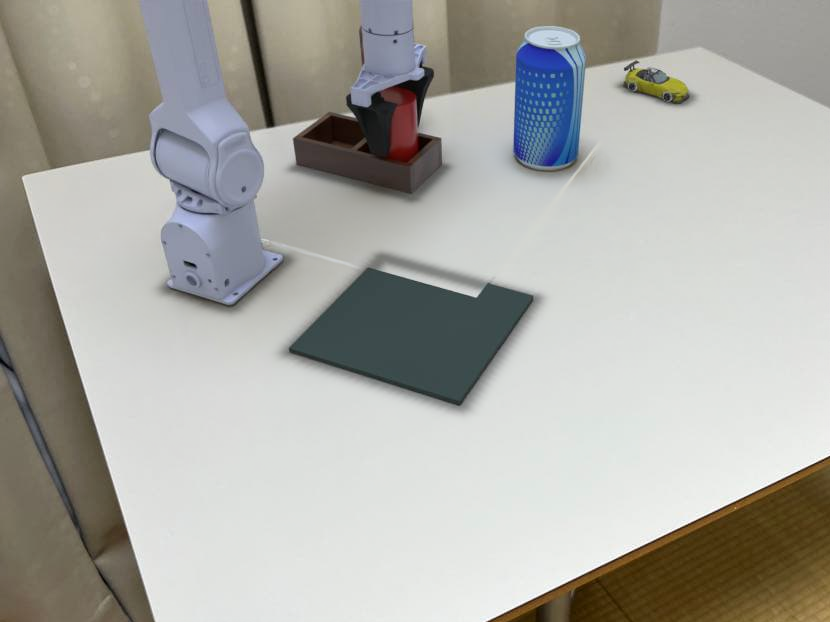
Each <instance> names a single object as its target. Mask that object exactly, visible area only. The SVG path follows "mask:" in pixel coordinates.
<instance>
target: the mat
mask: <svg viewBox="0 0 830 622" xmlns="http://www.w3.org/2000/svg"><path fill="white" fill-rule="evenodd" d="M533 301H534V295H533V294H529V293H525V292H523V291H522V292H521V291H519V290H515V289H511V288H507V287H504V286H500V285H497V284H493V283H490V282H489V283H488V282H487V283H486V285H485V286H484V287H483V288H482V290H481V291H480V292H479V294H478V295H477V296H473V295H468V294H465V293H462V292H458V291H454V290H451V289H447V288H444V287H440V286H436V285H433V284H429V283H426V282H422V281H418V280H415V279H412V278H407V277H404V276H400V275H397V274H393V273H389V272H386V271H382V270H379V269H376V268H372V267H367V268H366V269H365V270H363V272H362V273H361V274H360V275H359V276H358V277H356V279H354V281H353V282H352V283H351V284H350V285H349V286H348V287H347V288H346V289H345V290H344V291H343V292H342V293H341V294H340V295H339V296H338V297H336V299H335V300H334V301H333V302H332V303H331V304H330V305H329V306H328V307H327V308H326V309H325V310H324V311H323V312H322V313H321V314H320V315H319V316H318V317H317V318H316V319H315V320H314V321H313V323H311V325H310V326H309V327H308V328H307V329H306V330H304V331H303V332H302V334H301V335H300V336H299V337H297V339H295V340H294V342H293V343H292V344H291V345H290V346H289V347H288V352H289V353H291V354H295V355H299V356H301V357H305V358H309V359H310V360H315V361H318V362H320V363H324V364H327V365H330V366H334V367H337V368H340V369H343V370H347V371H350V372H353V373H357V374H360V375H363V376H366V377H368V378H373V379H376V380H378V381H382V382H385V383H389V384H391V385H394V386H398V387H400V388H403V389H407V390H410V391H413V392H417V393H420V394H424V395H426V396H430V397H432V398H433V397H434V398H437V399H439V400H443V401H445V402H449V403H452V404H454V405H455V404H456V405H461V404H462V402H463V401H464V399H466V396H467V395H468V394H469V393H470V391H471V390H472V388H473V387H474V385H475V384H476V383H477V381H478V380H479V378H480V377H481V375H482V374H483V372H484V371H485V370H486V368H487V367H488V365H489V364H490V362H491V361H492V360H493V358H494V356H495V355H496V353H497V352H498V351H499V349H500V348H501V346H502V345H503V344H504V342H505V341H506V340H507V338H508V336H509V335H510V333H511V332H512V331H513V329H514V327H515V326H516V325H517V323H518V322H519V321H520V319H521V318H522V316H523V315H524V313H525V312H526V311H527V309H528V308H529V307H530V305H531V303H532V302H533Z"/></svg>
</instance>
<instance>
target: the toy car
mask: <svg viewBox="0 0 830 622" xmlns="http://www.w3.org/2000/svg"><path fill="white" fill-rule="evenodd" d="M637 64H640V61H638V60H634V61H633V62H630V63H629V64H627V65H626V66H624V67H623V71H625V72H627V73H626V75H625V78H624V81H623V85H622V86H623V87H626V88H628V90H629V91H630V92H636V91H638V92H641V93H645V94H648V95H650V96H654V97H656V98H659V99H662V100H663V101H664V102H667V103H669V102H672V103H673V104H681V103H683V102H684V101H686V100H687V99H688V98H690V94H689V88H688V86H687V85H686V84H685V82H683V81H681V80H680V79H678V78H675V77H672V76H668V75H667V73H666V72H664V71H663V70H661V69H658V68H655V67H647V68H635V65H637Z"/></svg>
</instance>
